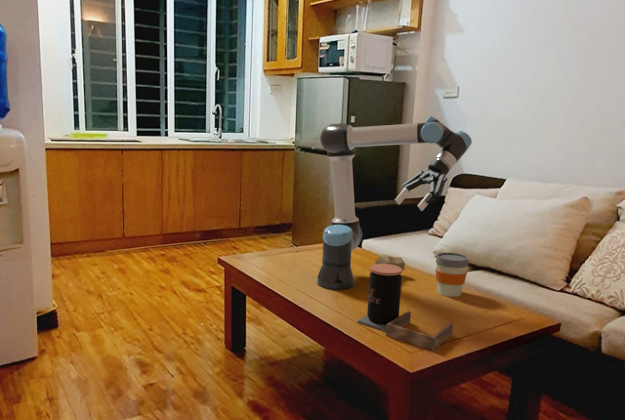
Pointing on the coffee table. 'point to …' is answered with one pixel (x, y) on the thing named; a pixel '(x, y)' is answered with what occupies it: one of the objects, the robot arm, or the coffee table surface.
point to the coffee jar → (384, 293)
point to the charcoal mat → (372, 323)
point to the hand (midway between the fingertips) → (408, 205)
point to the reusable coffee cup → (451, 273)
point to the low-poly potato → (391, 261)
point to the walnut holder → (416, 333)
